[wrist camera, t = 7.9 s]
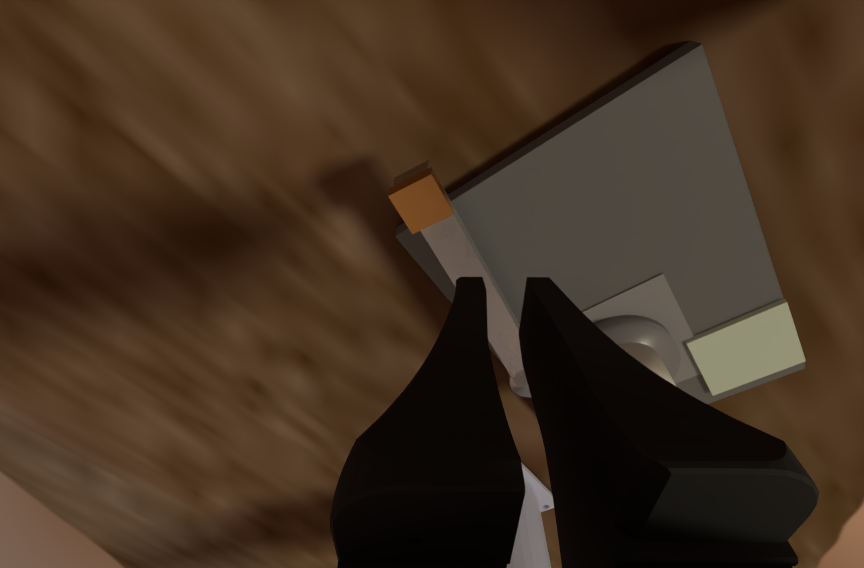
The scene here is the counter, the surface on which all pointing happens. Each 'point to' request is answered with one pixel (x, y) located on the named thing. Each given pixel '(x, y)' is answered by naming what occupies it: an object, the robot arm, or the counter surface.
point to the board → (627, 214)
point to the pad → (747, 348)
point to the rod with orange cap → (458, 258)
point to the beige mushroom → (644, 342)
